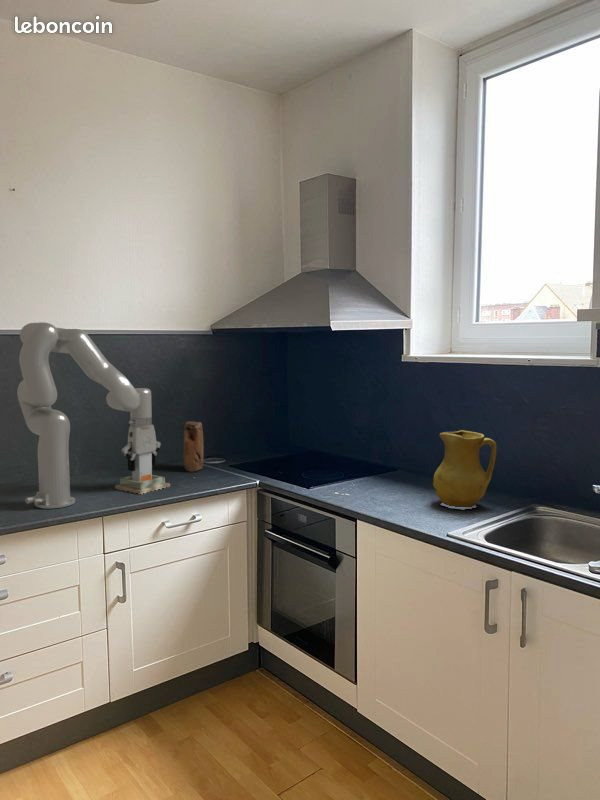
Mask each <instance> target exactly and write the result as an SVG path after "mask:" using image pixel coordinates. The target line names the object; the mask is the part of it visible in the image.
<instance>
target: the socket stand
mask: <svg viewBox="0 0 600 800" xmlns="http://www.w3.org/2000/svg"><path fill="white" fill-rule="evenodd" d="M166 487H167V488H170V487H171V483H170V482H166V477H165V476H162V475H161V476H160V475H157V474H156V475H155V474H152V479H151V480H147V481H143V482H139V481H134V480H132V475H130V476H126V477H122V478H119V484H115V485H114V489H115V490H119V491H123V490H124V491H123V492H127V491H129V492H128V493H132V492H133V494H136V493H138V494H137V495H140V494H141V495H143V493H144V494H147V492H148V493H151V492H150V491H152V492H155V491H154V490H156V491H158V489H160V490H163V489H162V488H164V489H167V488H166Z"/></svg>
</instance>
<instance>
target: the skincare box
mask: <svg viewBox="0 0 600 800" xmlns="http://www.w3.org/2000/svg"><path fill="white" fill-rule="evenodd" d="M133 460H135V471H131V474H132V475H131V476H132V480H134V481H139V482H143V481H147V480H151V479H152V475H153V466H152V452H150V453H145V454H139V455H138V454H136V456H135V458H134V459H133Z"/></svg>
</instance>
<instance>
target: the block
mask: <svg viewBox="0 0 600 800" xmlns="http://www.w3.org/2000/svg"><path fill="white" fill-rule="evenodd" d="M183 429H184V430H183V466H184V469H185V471H186V472H192V473H193V472H198V471H200V470H202V469H203V467H204V431H203V424H202V422H201V421H186V422H185V423H184V428H183Z"/></svg>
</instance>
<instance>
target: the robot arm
mask: <svg viewBox="0 0 600 800" xmlns="http://www.w3.org/2000/svg"><path fill="white" fill-rule="evenodd" d="M19 338H20V341H21V342H22V347H21V350H20V352H19V359H18V360H19V367H20V371H21V376H22V378H23V379H22V380H21V381H20V382H19V385H18V387H17V393H16V394H17V400H18V402H19V406H20V409H21V412H22V414H23V419H24V421H25V424H26V426H27V428H28V430H29V431H30V432H31V433H33V434H35V435H37V436H39V437H38V443H37V463H38V464H37V465H38V469H37V470H38V491H36V492H35V495H34V496H30V497H29V496H28V497H25V500H24V501H25V504H27V505H29V504H32V503H33V504H34V506H35V507H36V508H40V509H44V510H45V509H59V508H60V509H61V508H65V507H69V506H72V505H73V504H75V503H76V498H75V497H73V496H71V487H70V485H71V483H70V459H69V458H70V457H69V456H70V455H69V452H70V450H69V445H70V442H69V440H70V434H71V433H70V432H71V423H70V420H69V419H70V418H68V416H67V415H66V413H64V412H62V411H60V410H57V409H53V408H52V405H54V404H55V403H56V401H57V399H58V390H57V387H56V384H55V381H54V378H53V377H54V376H53V375H52V371H51V367H50V363H49V358H50V353H51V352H53V353H60V354H61V353H62V354H69V355H70V357H72V358H73V360H74V361H75V362H76V364H77V365H78V366H79V367H80V369H81V370H82V371H83V373H84V374H85V375H86V376H87V377H88V378H89V379H91V380H92V381H93V382H96V383H98V384H99V385H101V386H102V387H104V388H105V389H106V390H108V391H109V392H108V393H107V395H106V398H105V399H106V404H107V405H108V406H109V407H110V408H111V409H114V410H117V411H124V412H129V413H130V420H128V424H129V425H130V426H129V428H128V436H127V444H126V445H125V446H124V447H122V449H121V452H122V454H123V457H124V458H125V459H126V460H127V470H128V471H131V472H132V471H135V460H133V459H134V458H135V456H136V454H138V455H139V454H145V453H150V452H152V467H156V466H157V455H158V453H159V450H160V447H161V445H162V443H161V442H160V441H158V440H157V437H156V436H157V435H156V430H155V425H154V424H153V423H152V421H153V419H152V418H153V417H152V410H153V409H152V391H151V389H150V388H147V387H146V388H145V387H137V388H135V387H134V386H133V384H132V383H131V382H130V380H129V379H128V378H127V377H126V375H124V374H123V373H122V372H121V371H119V370H118V369H117V368H116V366H114V365H113V364H112V363H110V362H109V360H108V359H107V358H106V357H105V356H104V354H103V353H102V352H101V350H100V349H99V348H98V346H97V345H96V344H95V342H94V341H93V340H92V338H91V337H90V336H89V335H88V333H86V332H85V331H84V330H83V329H80V328H63V327H62V328H61V327H56V326H55V325H53V324H51V323H49V322H44V321H43V322H42V321H41V322H40V321H39V322H30V323H27V324H25V325H24V326H22V328H21V329H20V331H19Z"/></svg>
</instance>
